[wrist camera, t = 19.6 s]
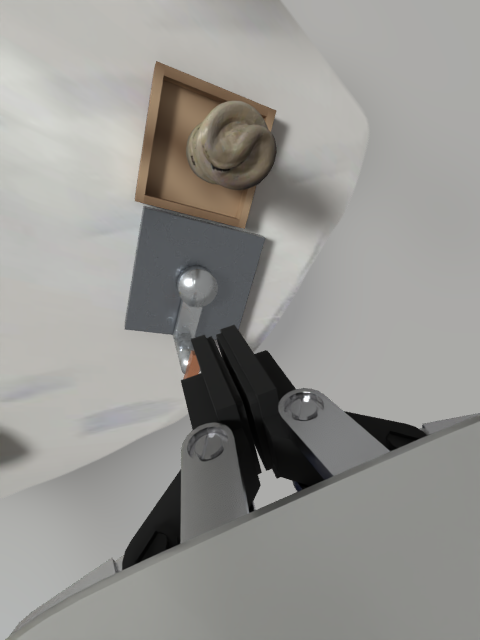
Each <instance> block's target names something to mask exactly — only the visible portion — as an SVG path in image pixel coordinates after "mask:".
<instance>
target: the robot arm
mask: <svg viewBox="0 0 480 640" xmlns="http://www.w3.org/2000/svg"><path fill="white" fill-rule="evenodd" d="M220 332H221V333H220V334H217V335H216V338H217V341H218V345H219V348H220V352H221V355H220V352H219V350H218V348H217V346H216V344H215V342H214V340H213V338H212V336H211V337H208V338H206V336H205V335H202V336H199V337H196V338H193V339H191V342H192V345H193V348H194V351H195V355H196V358H197V361H198V364H199V367H200V370H201V373H200V374H197V375H194V376H192V377H189V378H186V379H183V380H181V383H182V387H183V391H184V395H185V400H186V404H187V408H188V412H189V416H190V420H191V424H192V429H193V430H192V431H191V432H190V433H189V435H187V437H186V439H185V440H184V442H183V444H182V450H181V470H180V471H179V473H178V474H177V476H176V477H175V479H174V480H173V481H172V483H171V484H170V486H169V487H168V489H167V490H166V492H165V493H164V494H163V496H162V497H161V499H160V500H159V501H158V503H157V504H156V506H155V507H154V509H153V510H152V511H151V513H150V514H149V516H148V517H147V519H146V520H145V522H144V523H143V524H142V526H141V527H140V529H139V530H138V532H137V533H136V534H135V536H134V537H133V539H132V540H131V542H130V544H129V546H128V547H127V549H126V551H125V555H123V556H122V557H120V558H119V559H117V560H116V561H114V560H113V559H112V558H111V559H109V560H108V561H106V562H105V563H103V564H102V565H100V566H99V567H97V568H96V569H94V570H93V571H91V572H90V573H89V574H87V575H85V576H84V577H83V578H81V579H80V580H78V581H77V582H75V583H74V584H72V585H71V586H69V587H68V588H66V589H65V590H63V591H62V592H61V593H59V594H57V595H56V596H55V597H53V598H52V599H50V600H49V601H47V602H46V603H44V604H43V605H42V606H40V607H38V608H37V609H36V610H34V611H32V612H31V613H30V614H29V615H28V616H26V617H25V618H24V619H23V620H22V621H21V622H20V623H19V624H18V625H17V626H16V628H15V629H14V631H13V632H12V633H11V634H10V636H9V637H8V638H7V639H6V640H480V413H478V414H473V415H467V416H462V417H457V418H451V419H446V420H441V421H435V422H430V423H424V424H423V425H422V428H420V429H418V428H416V427H414V426H411V425H408V424H404V423H399V422H394V421H389V420H384V419H380V418H375V417H370V416H365V415H360V414H355V413H350V412H345V411H343V410H341V409H340V408H339V407H338V406H337V405H336V404H334V403H333V402H332V401H331V400H330V399H329V398H328V397H326V396H325V395H324V394H322V393H321V392H319V391H317V390H313V389H307V388H302V389H295V387H294V386H293V385H292V383H291V382H290V381H289V379H288V378H287V377H286V375H285V374H284V372H283V371H282V370H281V368H280V367H279V366H278V365H277V363H276V362H275V360H274V359H273V358H272V356H271V355H270V353H269V352H268V351H266V350H265V351H263V352H260V353H257V354H254V353H253V352H252V350H251V349H250V347H249V346H248V344H247V343H246V341H245V340H244V338H243V337H242V335H241V334H240V332H239V330H238V329H237V327H236V326H235V325H232V326H229V327H226V328H223V329H220ZM221 356H222V357H221ZM254 444H255V445H254ZM255 447H256V449H257V451H258V453H259V456H260V458H261V460H262V462H263V465H264V467H265V469H266V470H270V469H273V472H274V473H275V476H276V478H279V477H283V478H286V479H289V480H292V481H293V485H294V487H295V489H296V490H297V492H296V493H294V494H292V495H290V496H287V497H285V498H283V499H280V500H278V501H276V502H274V503H271V504H269V505H267V506H265V507H262V508H260V509H258V510H256V509H255V505H254V502H253V500H254V498H255V496H256V494H257V492H258V490H259V487H260V481H259V478H258V474H260V473H261V469H260V464H259V461H258V457H257V453H256V449H255Z"/></svg>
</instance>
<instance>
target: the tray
mask: <svg viewBox="0 0 480 640" xmlns="http://www.w3.org/2000/svg"><path fill="white" fill-rule="evenodd" d="M227 101H242V102H245V103H247V104H249V105H251V106H252V107H254V108H255V109H256V110H257V111H258V112H259V113H260V114H261V116H262V117H263V119H264V121H265V123H266V125H267V127H268V130H269V131H270V132H271V129H272V125H273V121H274V118H275V114H276V110H273V109H271V108H269V107H266V106H264V105H261V104H259V103H256V102H254V101H252V100H249V99H247V98H244V97H242V96H240V95H237V94H235V93H232V92H230V91H227V90H225V89H223V88H220V87H218V86H215V85H213V84H210V83H208V82H206V81H203V80H201V79H198V78H196V77H194V76H191V75H189V74H186V73H184V72H181V71H179V70H177V69H174V68H172V67H169V66H167V65H164V64H162V63H160V62H157V61H156V64H155V68H154V74H153V81H152V88H151V94H150V101H149V107H148V114H147V121H146V127H145V134H144V141H143V147H142V154H141V160H140V167H139V174H138V180H137V187H136V194H135V201H137V202H141V203H145V204H149V205H152V206H156V207H160V208H164V209H168V210H172V211H176V212H180V213H184V214H188V215H192V216H196V217H200V218H204V219H208V220H212V221H216V222H220V223H224V224H228V225H232V226H236V227H240V228H244V229H245V225H246V222H247V218H248V214H249V211H250V207H251V203H252V199H253V196H254V192H255V188H256V186H253V187H251V188H249V189H245V190H232V189H228V188H225V187H223V186H221V185H217V184H211V183H208V182H206V181H204V180H202V179H200V178H199V177H198V176H197V175H196V174H195V173H194V172H193V171H192V169H191V168H190V165H189V163H188V160H187V156H186V146H187V140H188V137H189V136H190V134H191V132H192V131H193V129H194V128H195V127H196V126H197V125H198V124H200V123H201V122H203V120H204V119H205V118H206V117H207V115H208V114H209V113H210V112H211V111H212V110H213V109H214V108H215V107H216V106H218V105H220V104H222V103H224V102H227Z"/></svg>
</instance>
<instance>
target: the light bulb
mask: <svg viewBox="0 0 480 640" xmlns="http://www.w3.org/2000/svg"><path fill="white" fill-rule="evenodd" d="M186 156H187V160H188V163H189V165H190V168H191V169H192V171H193V172H194V173H195V174H196V175H197V176H198V177H199V178H200V179H202V180H204V181H206V182H208V183H211V184H217V185H221V186H223V187H225V188H228V189H232V190H245V189H249V188H251V187H253V186H256V185H257V184H259V183H260V182H261V181H262V180H263V179H264V178H265V177H266V176H267V175H268V173H269V172H270V170H271V168H272V166H273V164H274V161H275V157H276V143H275V139H274V137H273V135H272V134H271V132H270V131H269V130H268V127H267V125H266V123H265V121H264V119H263V117H262V116H261V114H260V113H259V112H258V111H257V110H256V109H255V108H254V107H252V106H251V105H249V104H247V103H245V102H242V101H227V102H224V103H222V104H220V105H218V106H216V107H215V108H214V109H213V110H212V111H211V112H210V113H209V114H208V115H207V117H206V118H205V119H204V120H203V122H201V123H200V124H198V125H197V126H196V127H195V128H194V129H193V131H192V132H191V134H190V136H189V137H188V140H187V146H186Z"/></svg>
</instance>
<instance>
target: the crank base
mask: <svg viewBox="0 0 480 640" xmlns="http://www.w3.org/2000/svg"><path fill="white" fill-rule="evenodd" d="M264 241H265V238H264V237H263V236H261V235H258V234H254V233H250V232H246V231H242V230H238V229H234V228H230V227H226V226H222V225H218V224H214V223H210V222H206V221H202V220H198V219H194V218H190V217H186V216H182V215H178V214H174V213H170V212H166V211H162V210H158V209H154V208H150V207H146V206H143V213H142V219H141V225H140V231H139V237H138V244H137V250H136V256H135V262H134V269H133V275H132V281H131V287H130V293H129V300H128V306H127V312H126V318H125V329H126V330H135V331H144V332H153V333H162V334H171V335H173V333H174V329H175V325H176V321H177V317H178V313H179V308H180V304H181V300H182V299H181V297H180V294H179V292H178V289H177V280H178V277H179V275H180V274H181V273H182V272H183V271H184V270H185V269H187V268H189V267H192V266H201V267H204V268H206V269H207V270H208V271H210V273H211V274H212V275H213V277H214V278H215V280H216V282H217V286H218V290H217V294H216V296H215V298H214V300H213V301H212V302H211V303H209V304H208V305H206V306H203V307H202V311H201V314H200V318H199V322H198V325H197V329H196V333H195V337H199V336H202V335H205V336H206V338H208V337H211V336H212V338H213V339H215V340H217V338H216V335H217V334H220V333H221V332H220V329H223V328H226V327H229V326H232V325H235V326H236V327H237V329H239V326H240V323H241V319H242V316H243V312H244V309H245V306H246V302H247V299H248V295H249V292H250V288H251V285H252V282H253V278H254V275H255V271H256V268H257V265H258V261H259V258H260V254H261V251H262V248H263V244H264Z"/></svg>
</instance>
